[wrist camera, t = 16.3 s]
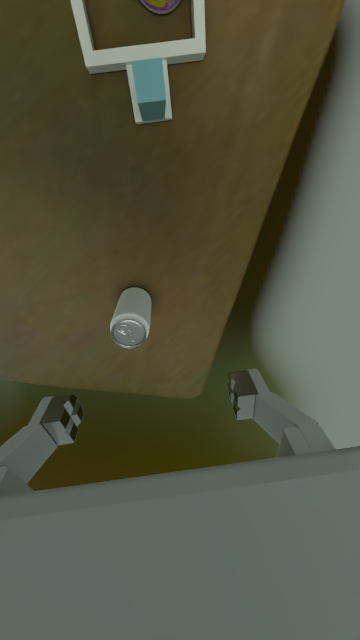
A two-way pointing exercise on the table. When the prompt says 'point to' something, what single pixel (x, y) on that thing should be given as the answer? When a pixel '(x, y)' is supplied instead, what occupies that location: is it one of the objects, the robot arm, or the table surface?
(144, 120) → the handled square frame
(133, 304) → the can
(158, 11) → the supplement bottle
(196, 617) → the robot arm
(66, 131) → the table surface
